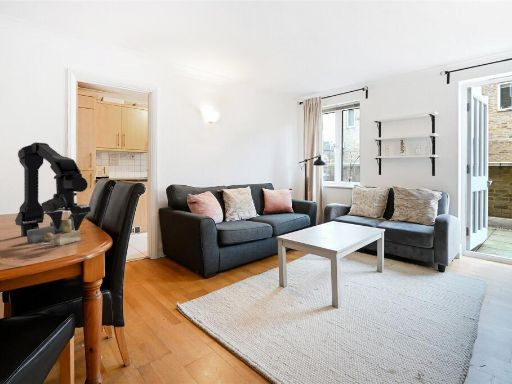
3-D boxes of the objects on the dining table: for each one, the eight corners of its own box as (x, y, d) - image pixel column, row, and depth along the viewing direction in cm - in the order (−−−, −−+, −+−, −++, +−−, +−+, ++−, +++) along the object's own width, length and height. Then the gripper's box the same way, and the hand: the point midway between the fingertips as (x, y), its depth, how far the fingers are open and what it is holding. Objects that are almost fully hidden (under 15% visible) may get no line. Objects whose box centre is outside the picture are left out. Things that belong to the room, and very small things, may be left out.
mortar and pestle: (50, 239, 123) (49, 212, 122) (50, 235, 131) (49, 209, 130) (80, 236, 130) (79, 210, 129) (79, 232, 138) (78, 208, 137)
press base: (22, 247, 111) (21, 231, 110) (51, 240, 122) (51, 225, 122) (61, 251, 106) (60, 234, 105) (87, 243, 118) (86, 228, 117)
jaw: (54, 244, 109) (52, 221, 108) (74, 239, 117) (73, 217, 116) (60, 245, 108) (59, 222, 107) (80, 239, 116) (79, 218, 116)
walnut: (41, 241, 114) (40, 233, 113) (49, 239, 117) (48, 231, 117) (47, 242, 113) (47, 233, 113) (56, 240, 116) (55, 232, 116)
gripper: (25, 191, 105) (28, 232, 107) (65, 193, 101) (67, 236, 102) (54, 189, 116) (55, 226, 117) (91, 190, 111) (92, 229, 113)
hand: (67, 229), depth 112 cm, fingers open, 9 cm apart
